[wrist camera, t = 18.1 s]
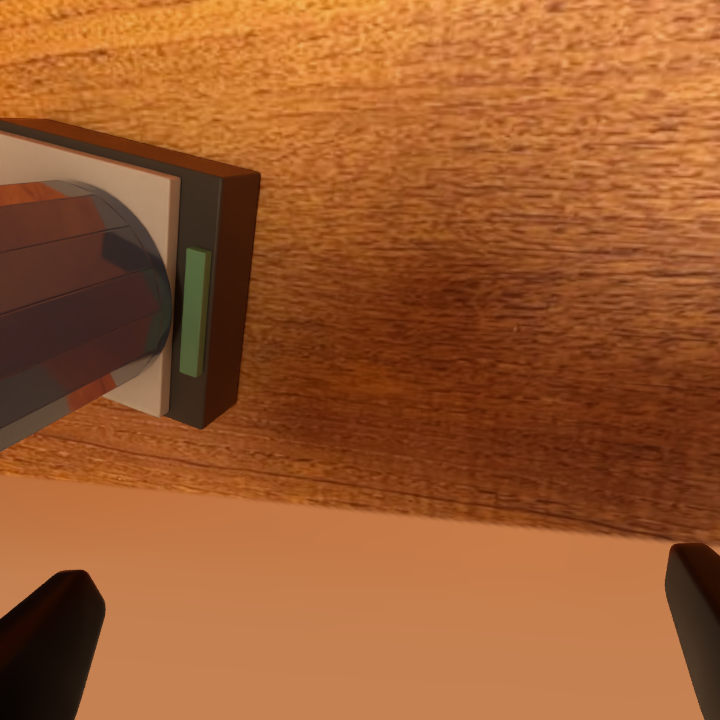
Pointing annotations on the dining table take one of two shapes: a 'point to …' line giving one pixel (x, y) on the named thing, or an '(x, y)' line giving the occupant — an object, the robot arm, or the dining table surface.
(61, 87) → the dining table surface
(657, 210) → the dining table surface
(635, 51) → the dining table surface
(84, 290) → the cup
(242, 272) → the scale
